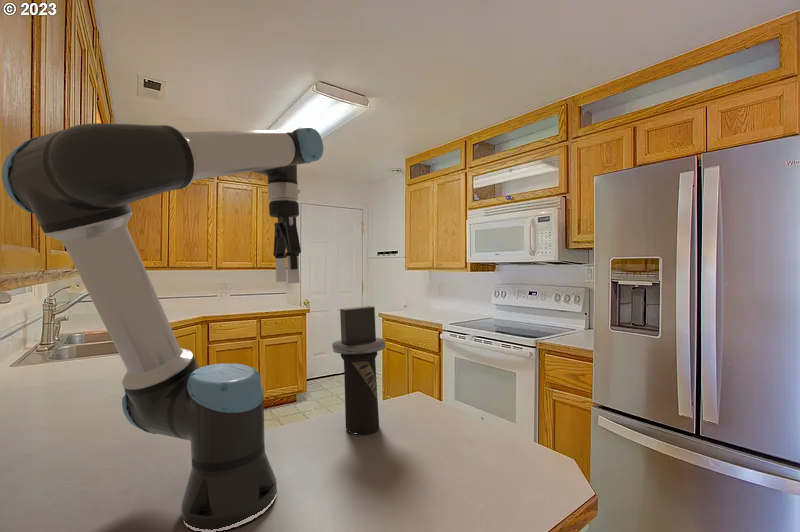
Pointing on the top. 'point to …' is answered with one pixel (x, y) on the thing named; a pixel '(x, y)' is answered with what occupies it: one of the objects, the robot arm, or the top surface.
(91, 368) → the top surface
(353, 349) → the lid
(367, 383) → the container
